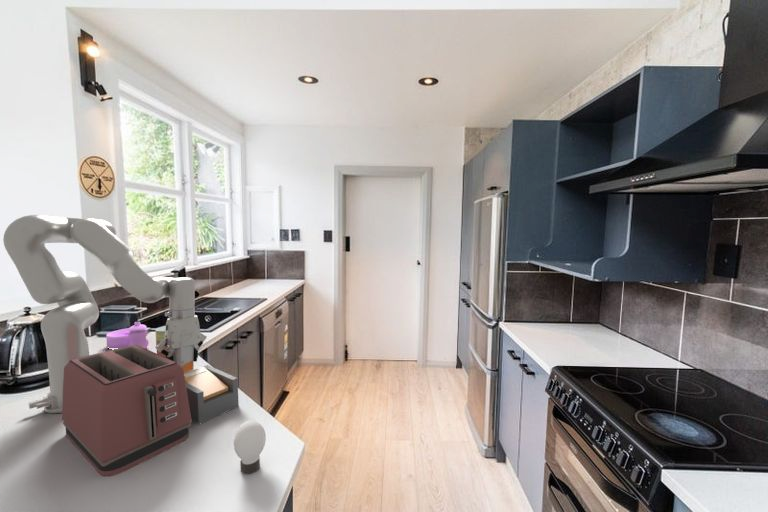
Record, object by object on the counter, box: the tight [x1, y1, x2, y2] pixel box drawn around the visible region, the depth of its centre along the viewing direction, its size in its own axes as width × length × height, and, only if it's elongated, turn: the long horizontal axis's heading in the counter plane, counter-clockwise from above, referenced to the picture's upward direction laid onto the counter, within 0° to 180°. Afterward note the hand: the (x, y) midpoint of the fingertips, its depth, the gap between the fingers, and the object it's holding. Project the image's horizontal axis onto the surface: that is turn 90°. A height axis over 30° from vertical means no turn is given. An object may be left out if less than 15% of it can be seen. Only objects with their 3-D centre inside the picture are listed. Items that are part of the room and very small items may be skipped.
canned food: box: [154, 325, 167, 358], centre depth 149 cm, size 11×11×12 cm
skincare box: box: [172, 342, 195, 373], centre depth 115 cm, size 6×4×12 cm
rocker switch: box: [184, 366, 228, 400], centre depth 103 cm, size 8×15×3 cm, turn 55°
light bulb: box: [233, 419, 267, 474], centre depth 76 cm, size 7×7×11 cm
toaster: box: [61, 345, 193, 477], centre depth 88 cm, size 19×34×20 cm, turn 56°
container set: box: [105, 321, 149, 349], centre depth 160 cm, size 25×15×13 cm, turn 56°
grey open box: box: [185, 364, 239, 425], centre depth 103 cm, size 12×18×9 cm, turn 55°
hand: (182, 363), depth 115 cm, fingers closed on skincare box, 7 cm apart
